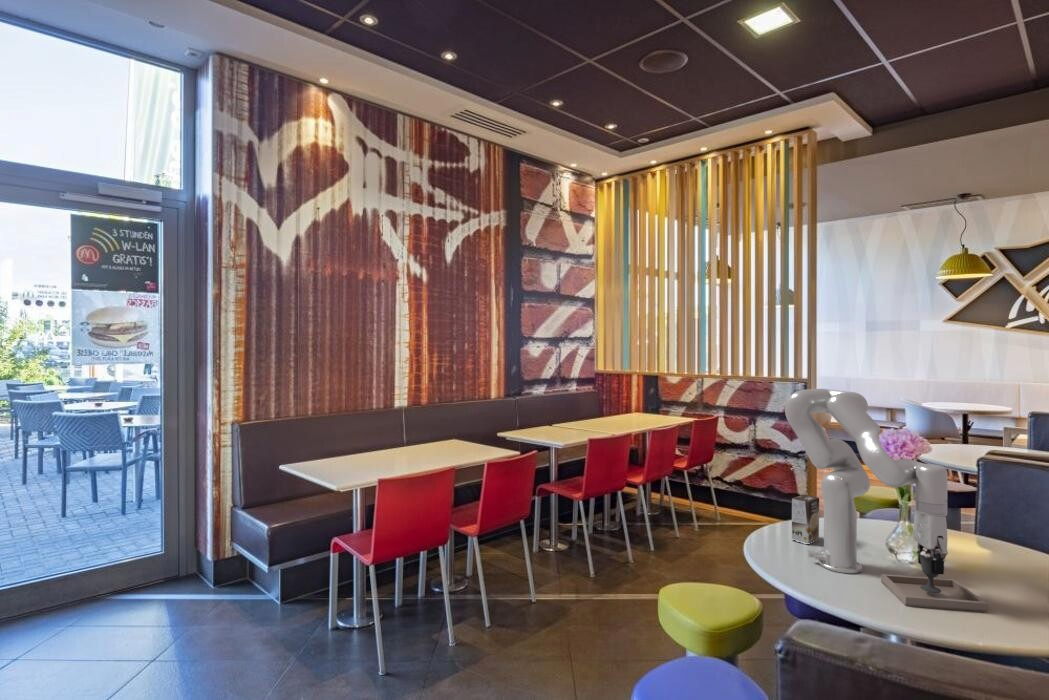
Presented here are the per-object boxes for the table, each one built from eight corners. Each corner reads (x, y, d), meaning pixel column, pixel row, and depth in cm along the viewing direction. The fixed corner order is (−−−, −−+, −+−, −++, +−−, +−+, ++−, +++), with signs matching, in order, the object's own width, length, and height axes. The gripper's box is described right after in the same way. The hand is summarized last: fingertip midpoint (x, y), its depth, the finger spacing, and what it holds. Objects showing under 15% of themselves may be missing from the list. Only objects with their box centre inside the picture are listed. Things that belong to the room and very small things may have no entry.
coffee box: (808, 545, 203) (808, 501, 203) (791, 540, 208) (791, 498, 208) (819, 540, 209) (819, 497, 209) (802, 535, 214) (802, 493, 214)
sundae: (950, 595, 158) (950, 542, 158) (923, 593, 159) (923, 540, 159) (937, 585, 165) (937, 535, 165) (912, 583, 166) (912, 533, 166)
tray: (905, 606, 156) (905, 597, 156) (881, 582, 172) (881, 574, 172) (987, 612, 152) (987, 603, 152) (954, 587, 168) (954, 579, 168)
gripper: (902, 498, 171) (902, 556, 171) (932, 515, 154) (931, 580, 154) (930, 500, 170) (929, 558, 170) (962, 517, 153) (962, 582, 153)
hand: (930, 568), depth 162 cm, fingers closed on sundae, 6 cm apart
